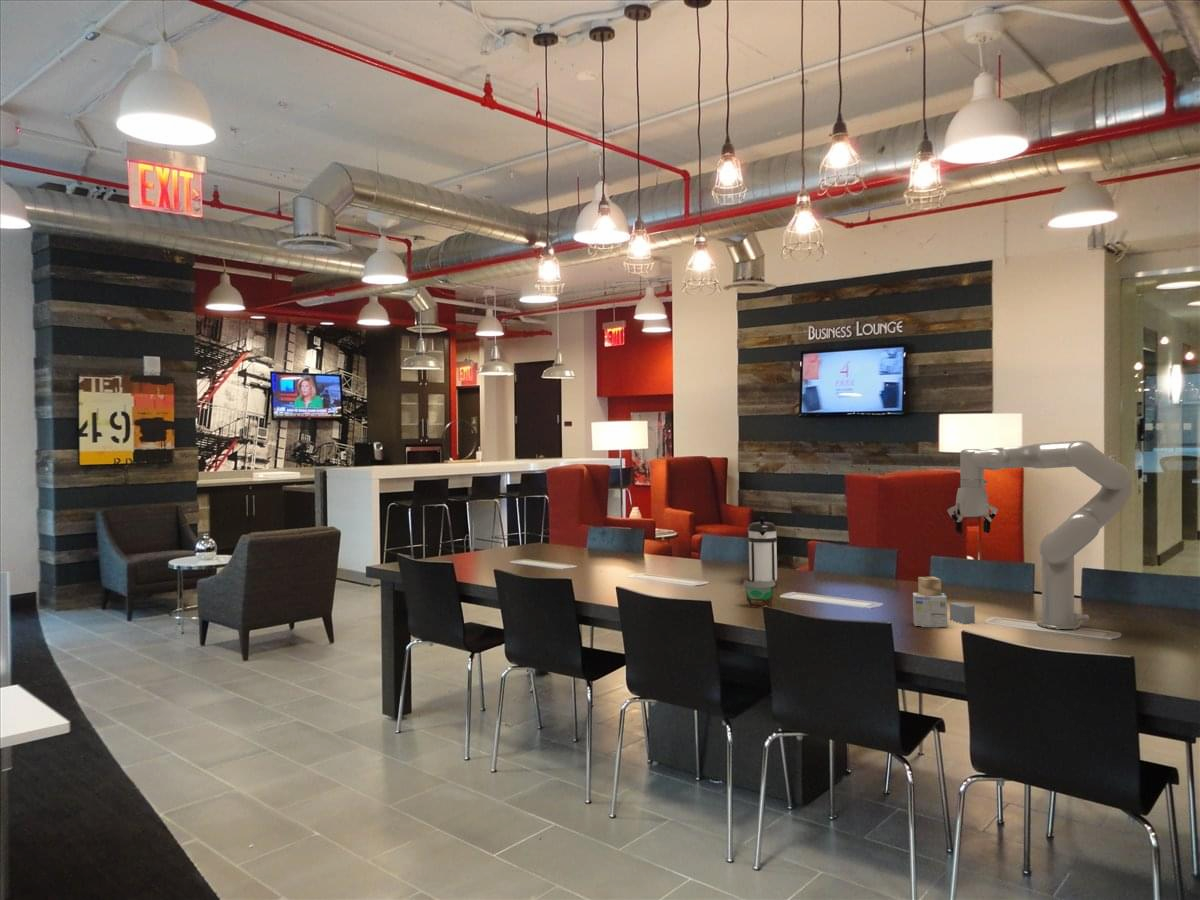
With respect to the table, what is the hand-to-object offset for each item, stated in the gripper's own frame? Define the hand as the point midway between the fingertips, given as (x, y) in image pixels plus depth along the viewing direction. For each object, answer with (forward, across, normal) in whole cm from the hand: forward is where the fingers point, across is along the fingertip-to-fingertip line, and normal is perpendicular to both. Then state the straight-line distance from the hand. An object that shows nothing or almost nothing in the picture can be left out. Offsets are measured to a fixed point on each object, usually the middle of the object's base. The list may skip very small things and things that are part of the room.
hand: (972, 532), depth 294 cm
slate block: (+30, +6, +4) cm, 31 cm away
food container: (+31, +70, -29) cm, 82 cm away
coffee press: (+31, +59, -76) cm, 101 cm away
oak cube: (+20, +19, +8) cm, 28 cm away
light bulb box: (+31, +19, +8) cm, 37 cm away
